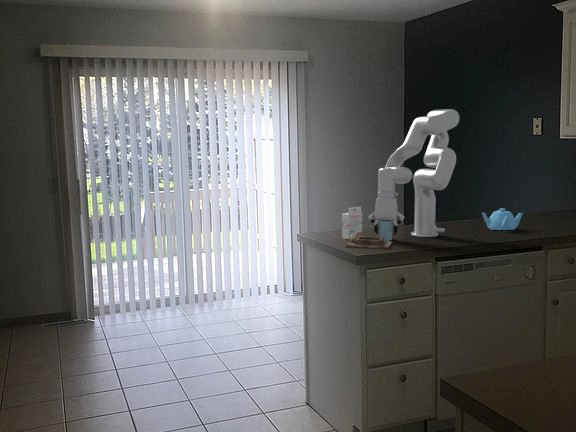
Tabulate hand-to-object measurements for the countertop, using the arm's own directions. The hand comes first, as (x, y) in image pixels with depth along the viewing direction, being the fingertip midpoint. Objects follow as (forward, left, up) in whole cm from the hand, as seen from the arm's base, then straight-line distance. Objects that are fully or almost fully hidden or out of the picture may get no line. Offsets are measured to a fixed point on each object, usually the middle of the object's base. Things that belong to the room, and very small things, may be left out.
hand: (385, 233), depth 290 cm
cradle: (+5, +16, -3) cm, 17 cm away
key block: (0, 0, -3) cm, 3 cm away
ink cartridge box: (+16, -2, -3) cm, 16 cm away
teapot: (-52, -46, -3) cm, 69 cm away
